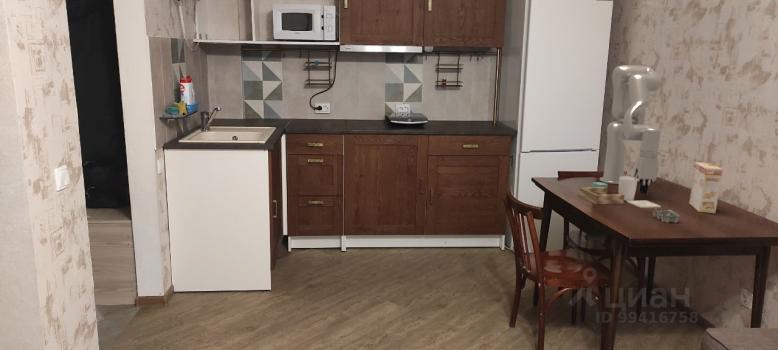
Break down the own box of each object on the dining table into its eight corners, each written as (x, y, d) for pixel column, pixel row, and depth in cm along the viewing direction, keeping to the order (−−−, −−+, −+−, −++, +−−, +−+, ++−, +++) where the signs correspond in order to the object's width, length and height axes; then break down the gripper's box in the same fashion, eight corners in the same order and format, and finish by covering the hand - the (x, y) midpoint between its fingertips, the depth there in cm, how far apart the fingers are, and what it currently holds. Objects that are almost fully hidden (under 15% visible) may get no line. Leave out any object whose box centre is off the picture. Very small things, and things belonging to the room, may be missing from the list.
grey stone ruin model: (650, 215, 250) (652, 206, 249) (668, 216, 250) (670, 207, 249) (662, 223, 240) (663, 213, 239) (680, 223, 240) (682, 214, 239)
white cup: (632, 197, 279) (634, 176, 277) (637, 201, 271) (640, 180, 269) (614, 196, 279) (617, 175, 277) (619, 200, 272) (622, 179, 270)
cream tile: (646, 201, 272) (646, 200, 272) (660, 207, 263) (660, 206, 263) (626, 202, 270) (627, 200, 270) (641, 208, 260) (641, 206, 260)
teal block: (598, 192, 287) (599, 182, 286) (606, 194, 283) (607, 184, 282) (590, 192, 285) (592, 182, 284) (599, 195, 281) (600, 185, 280)
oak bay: (604, 195, 281) (605, 187, 280) (623, 203, 267) (624, 194, 266) (578, 196, 277) (579, 187, 276) (596, 204, 264) (597, 195, 263)
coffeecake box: (716, 213, 257) (723, 169, 253) (698, 212, 258) (705, 168, 254) (705, 204, 271) (712, 162, 267) (688, 203, 272) (695, 161, 268)
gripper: (657, 152, 278) (651, 191, 282) (629, 153, 275) (624, 191, 279) (668, 155, 271) (662, 195, 275) (639, 156, 268) (634, 195, 272)
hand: (643, 193), depth 277 cm, fingers closed
